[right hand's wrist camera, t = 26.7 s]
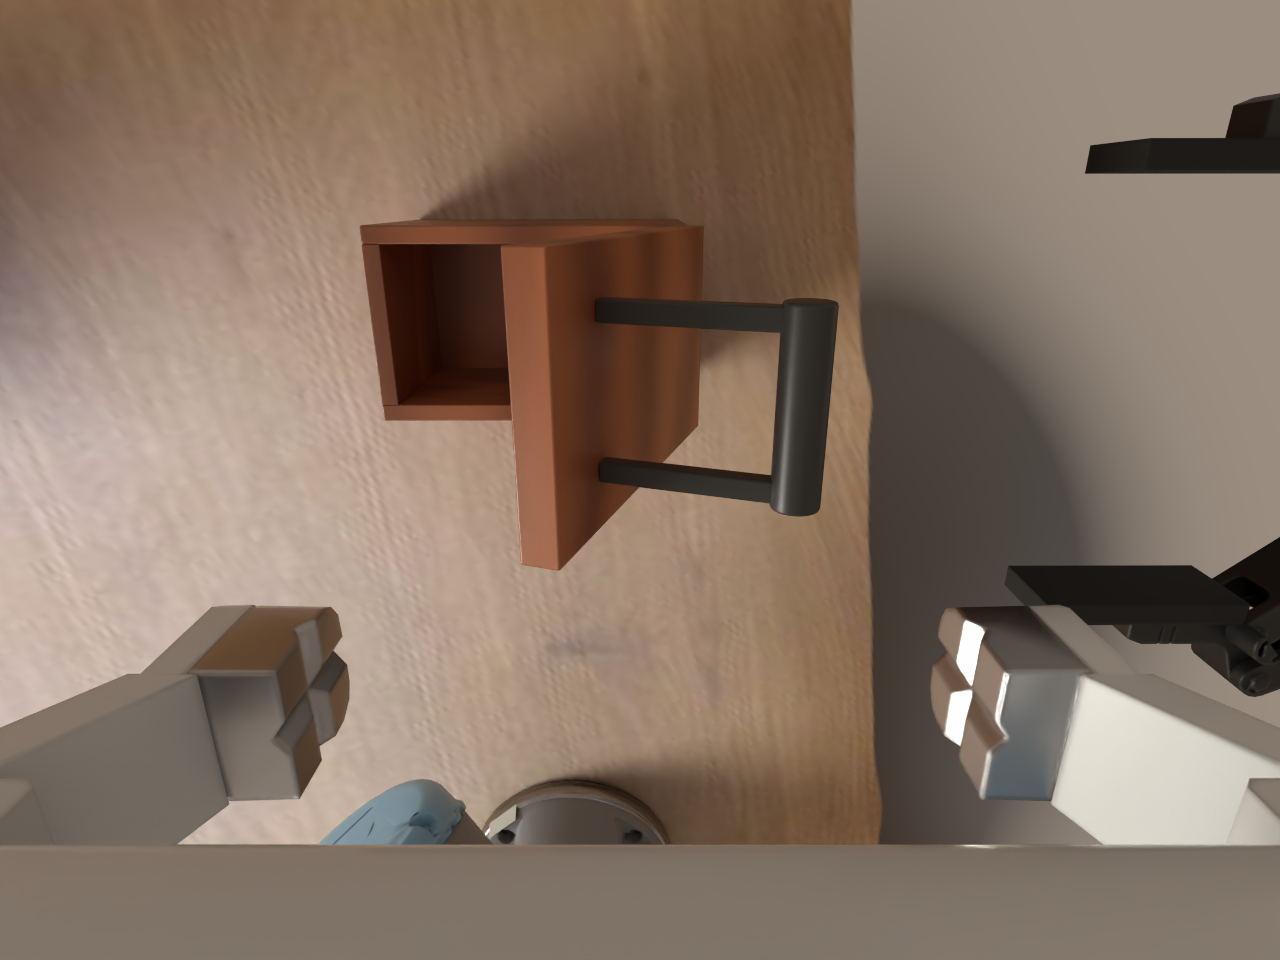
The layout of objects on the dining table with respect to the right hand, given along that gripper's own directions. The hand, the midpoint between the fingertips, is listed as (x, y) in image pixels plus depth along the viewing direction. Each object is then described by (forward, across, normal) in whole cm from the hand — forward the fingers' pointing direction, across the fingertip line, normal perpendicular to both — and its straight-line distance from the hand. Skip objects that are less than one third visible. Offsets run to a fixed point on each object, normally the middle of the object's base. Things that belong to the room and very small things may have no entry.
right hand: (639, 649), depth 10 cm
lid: (+19, -1, 0) cm, 19 cm away
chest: (+36, -5, 0) cm, 36 cm away
